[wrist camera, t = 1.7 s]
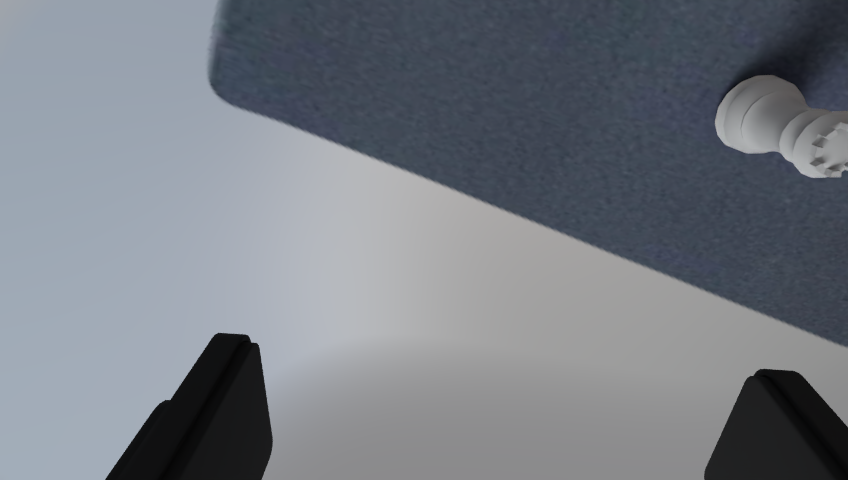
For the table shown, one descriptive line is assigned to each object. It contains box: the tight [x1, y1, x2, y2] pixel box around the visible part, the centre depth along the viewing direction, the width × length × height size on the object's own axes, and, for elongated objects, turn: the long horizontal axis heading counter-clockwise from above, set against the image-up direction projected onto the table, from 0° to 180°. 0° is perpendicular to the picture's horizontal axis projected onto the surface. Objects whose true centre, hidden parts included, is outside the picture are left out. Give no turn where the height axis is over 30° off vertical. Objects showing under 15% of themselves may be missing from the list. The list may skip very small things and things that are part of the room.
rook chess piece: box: [715, 75, 848, 178], centre depth 26 cm, size 4×4×8 cm
